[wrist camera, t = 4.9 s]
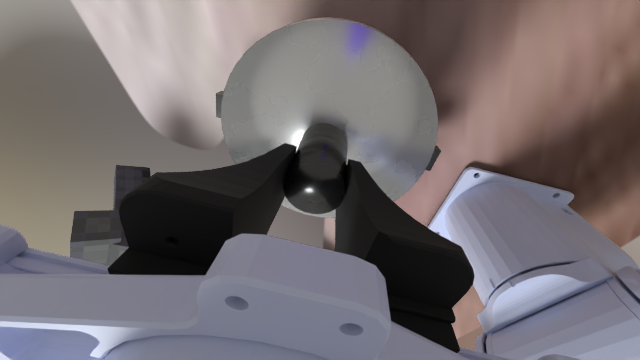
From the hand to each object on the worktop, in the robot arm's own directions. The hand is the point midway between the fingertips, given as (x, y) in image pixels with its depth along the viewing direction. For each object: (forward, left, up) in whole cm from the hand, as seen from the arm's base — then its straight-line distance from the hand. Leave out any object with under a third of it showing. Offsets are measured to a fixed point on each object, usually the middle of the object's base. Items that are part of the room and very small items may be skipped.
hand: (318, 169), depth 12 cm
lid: (0, -1, -4) cm, 4 cm away
